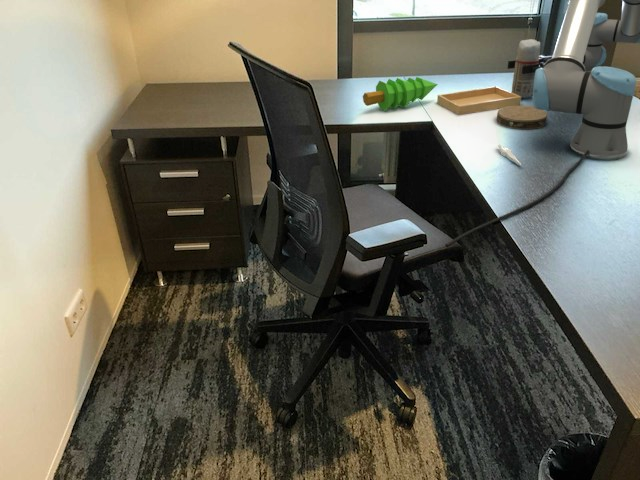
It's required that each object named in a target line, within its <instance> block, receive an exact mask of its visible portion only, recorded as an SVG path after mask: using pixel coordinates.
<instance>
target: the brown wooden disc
mask: <svg viewBox="0 0 640 480" xmlns="http://www.w3.org/2000/svg"><path fill="white" fill-rule="evenodd" d="M547 119H548V113H547V111H546V110H542V109H537V108H535V107H534V106H531V105H517V106H507V107H503V108H498V109H497V113H496V122H497V124H499V125H501V126H503V127H505V128H508V129H509V128H510V129H514V130H535V129H536V130H537V129H540V128H542V127H545V125H546V124H547Z"/></svg>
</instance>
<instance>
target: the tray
mask: <svg viewBox="0 0 640 480" xmlns="http://www.w3.org/2000/svg"><path fill="white" fill-rule="evenodd" d="M511 92H512V91H509V90H507V89H504V88H503V87H499V86H497V85H495V86H490V87H489V86H488V87H482V88H475V89H469V90H461V91H456V92H450V93H442V94H437V100H436V101H437V104H438V105H439V106H442V108H445V109H447V110H449V111H451V112H452V113H454V114H456V115H458V116H461V115H467V114H472V113H479V112H487V111H491V110H499V109H501V108H503V107H507V106H521V103H522V98H521V96H519V95H516V94H514V93H511Z"/></svg>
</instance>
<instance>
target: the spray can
mask: <svg viewBox="0 0 640 480" xmlns="http://www.w3.org/2000/svg"><path fill="white" fill-rule="evenodd" d="M540 54H541V42H540V41H537V39H534V38H530V39H524V40H520V42H519V44H518V47H517V51H516V58H515V60H516V62H515V68H514V71H513V77H512V78H513V79H512V83H511V84H512V85H511V91H510V92H511V93H514V94H516V95H519V96H521V99H522V98H525V99H526V98H530V97H531V98H533V86H534V77H535V72H534V73H527V74H522V67H523V66H527V65H534V64H538V62H539V56H540Z"/></svg>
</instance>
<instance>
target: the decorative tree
mask: <svg viewBox="0 0 640 480" xmlns="http://www.w3.org/2000/svg"><path fill="white" fill-rule="evenodd" d="M438 85H439V84H438V83H436V82H433V81H430V80H427V79H425V78H422V77H418V76H416V78H415V79H413V78H411V77H408V79H407V80H406V79H402V78H398V77H397V78H396V79H395V80H393V79H391V78H388V80H387V81H386V82H384V81H381V80H379V81H378V82H377V84H376V85H375V90H374V91H368V92H364V93H363V95H362V102H363V103H364V105H365V106H366V107H369V106H372V105H376V104H377V105H378V108H379V109H380V110H381V111H384V112H386V111H387V110H388V109H390V108H391V109H393V110H395V109H396V108H397V107H398V106H399V107H401V108H403V109H405V108H406V107H407V105H408V104H410V103H414V102H415V101H416V100H417V99H418V100H420V101H422V100H424V99H425V98H426V96H428V95H429V94H430V93H431V92H432V91H433V90H434V89H435V88H436V87H437V86H438Z"/></svg>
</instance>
